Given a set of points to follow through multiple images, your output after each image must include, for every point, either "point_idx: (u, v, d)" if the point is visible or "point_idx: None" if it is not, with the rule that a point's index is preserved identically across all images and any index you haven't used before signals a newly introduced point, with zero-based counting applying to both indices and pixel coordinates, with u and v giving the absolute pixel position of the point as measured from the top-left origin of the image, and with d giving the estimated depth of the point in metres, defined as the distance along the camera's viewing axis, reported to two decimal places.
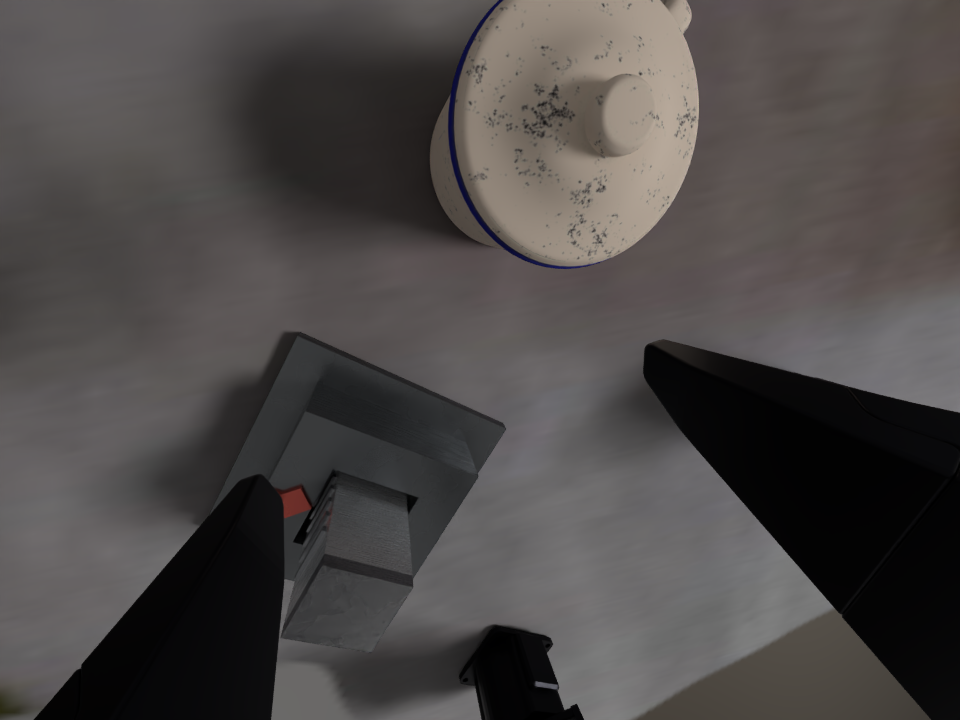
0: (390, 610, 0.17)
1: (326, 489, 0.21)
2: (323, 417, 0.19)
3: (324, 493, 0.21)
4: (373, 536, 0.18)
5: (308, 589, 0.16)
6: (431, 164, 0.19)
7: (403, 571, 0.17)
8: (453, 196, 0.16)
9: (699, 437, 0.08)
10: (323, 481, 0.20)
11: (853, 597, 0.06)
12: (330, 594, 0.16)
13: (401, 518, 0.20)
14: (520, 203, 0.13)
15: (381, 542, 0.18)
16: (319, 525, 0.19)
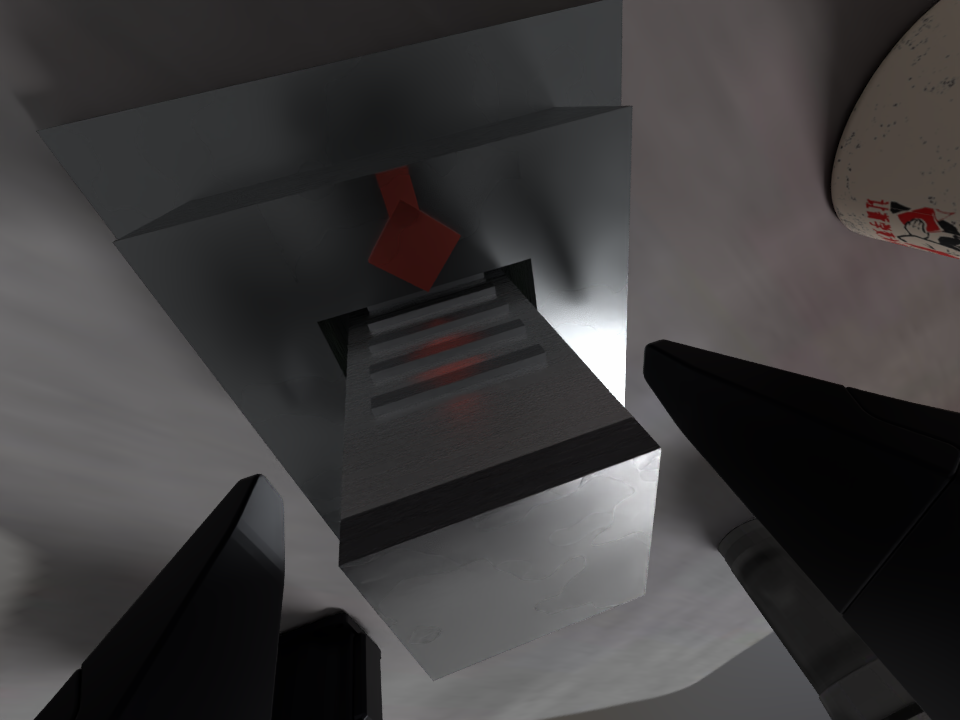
0: (568, 618, 0.07)
1: (448, 283, 0.10)
2: (629, 154, 0.08)
3: (438, 286, 0.10)
4: None
5: (556, 482, 0.05)
6: (958, 6, 0.12)
7: None
8: None
9: (699, 437, 0.08)
10: (494, 263, 0.09)
11: (853, 598, 0.06)
12: (567, 526, 0.05)
13: None
14: None
15: None
16: (489, 336, 0.07)
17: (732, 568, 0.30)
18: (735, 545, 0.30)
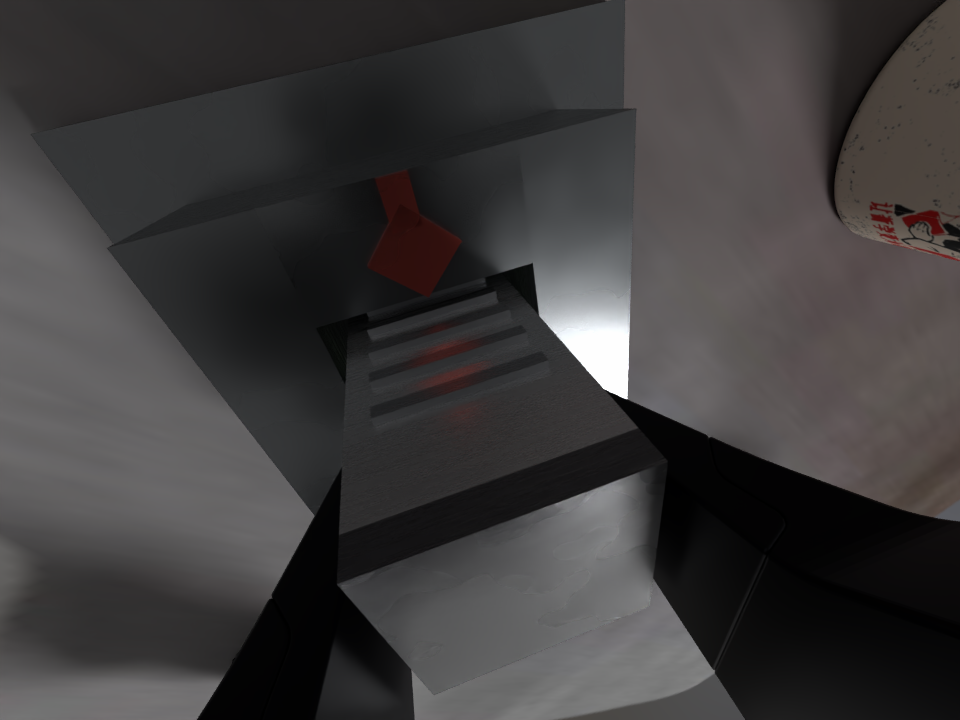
0: (571, 631, 0.07)
1: None
2: (632, 158, 0.08)
3: (439, 291, 0.10)
4: None
5: (560, 496, 0.05)
6: None
7: None
8: None
9: None
10: (496, 268, 0.09)
11: (719, 656, 0.06)
12: (570, 540, 0.05)
13: None
14: None
15: None
16: (491, 343, 0.07)
17: None
18: None
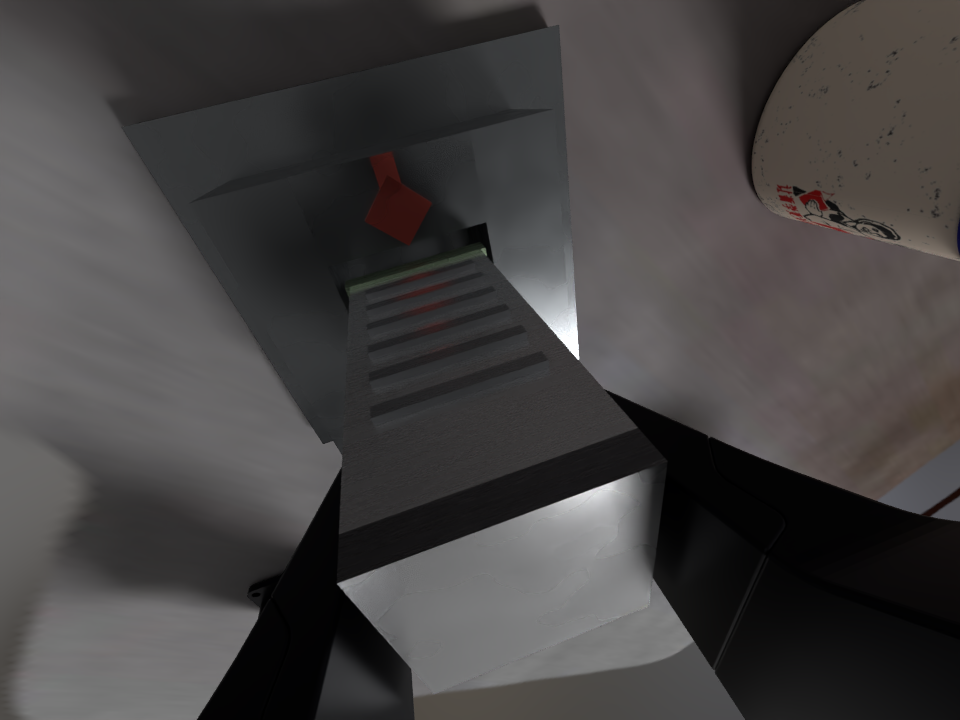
0: (571, 630, 0.07)
1: (449, 287, 0.10)
2: (555, 144, 0.11)
3: (439, 291, 0.10)
4: None
5: (560, 496, 0.05)
6: (834, 29, 0.15)
7: None
8: (918, 65, 0.12)
9: None
10: (458, 225, 0.12)
11: (719, 656, 0.06)
12: (570, 540, 0.05)
13: None
14: None
15: None
16: (491, 343, 0.07)
17: None
18: None
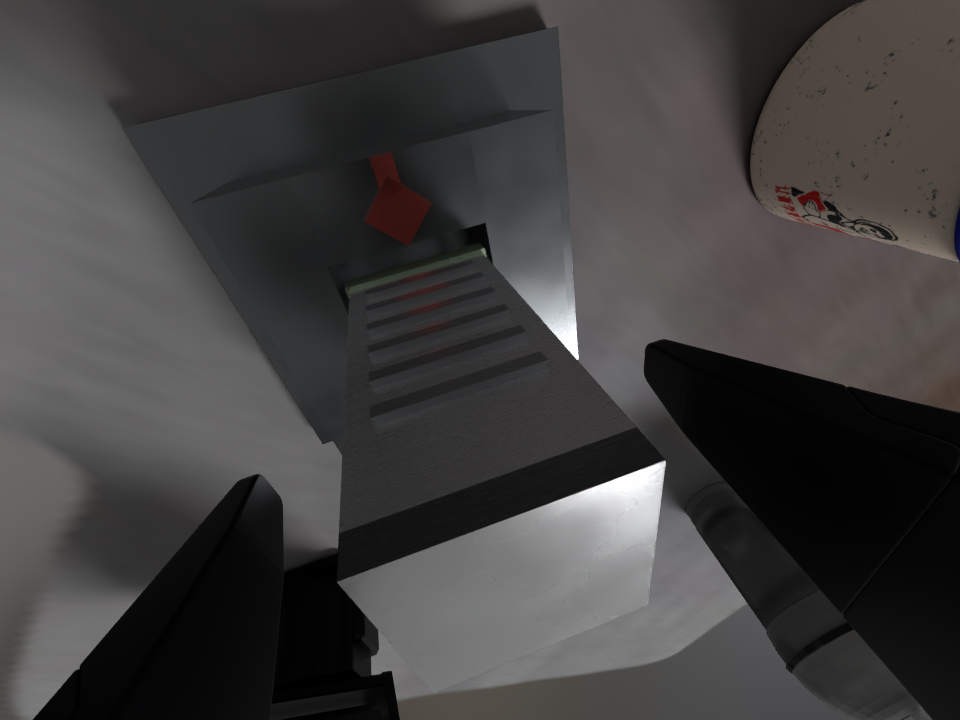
0: (570, 629, 0.07)
1: (448, 288, 0.10)
2: (555, 145, 0.11)
3: (438, 291, 0.10)
4: None
5: (559, 495, 0.05)
6: (832, 30, 0.15)
7: None
8: (915, 66, 0.12)
9: (700, 437, 0.08)
10: (458, 226, 0.12)
11: (855, 597, 0.06)
12: (569, 539, 0.05)
13: None
14: None
15: None
16: (490, 343, 0.07)
17: (696, 527, 0.33)
18: (699, 505, 0.33)
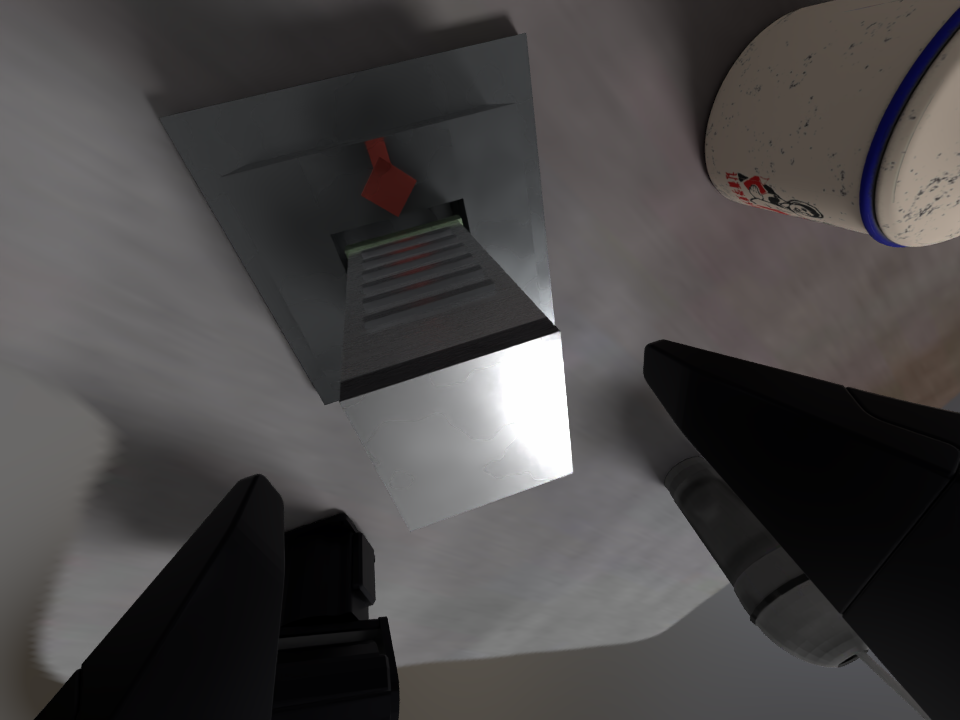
0: (512, 486, 0.09)
1: (428, 245, 0.12)
2: (520, 132, 0.14)
3: (420, 248, 0.12)
4: None
5: (487, 353, 0.07)
6: (768, 36, 0.17)
7: None
8: (826, 67, 0.15)
9: (699, 437, 0.08)
10: (440, 201, 0.14)
11: (853, 598, 0.06)
12: (499, 392, 0.07)
13: None
14: None
15: None
16: (455, 277, 0.09)
17: (674, 498, 0.36)
18: (676, 478, 0.35)
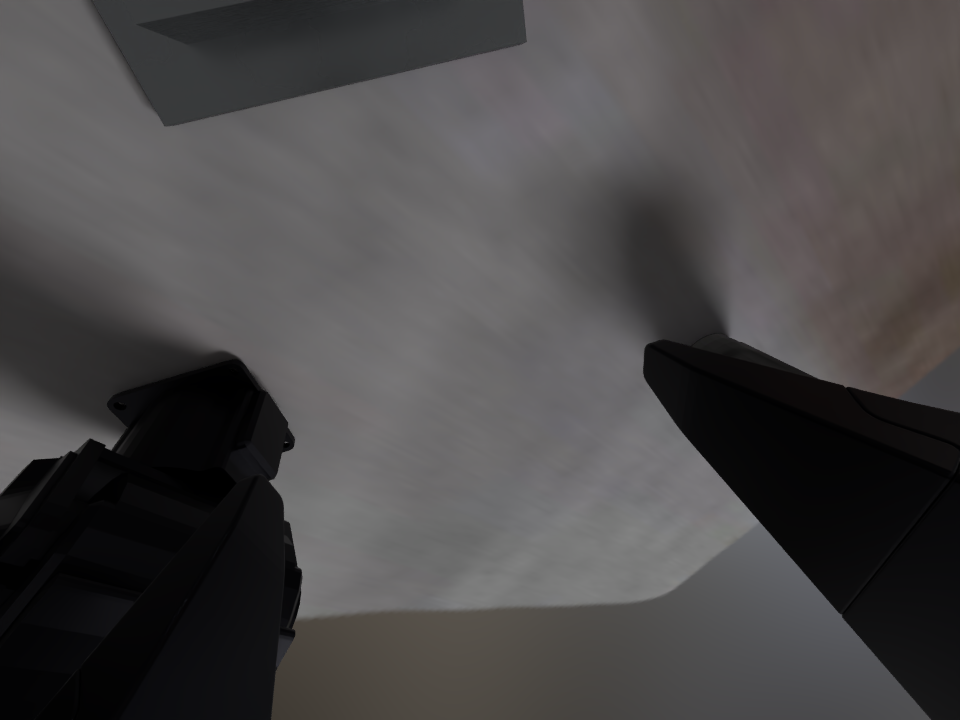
0: None
1: None
2: None
3: None
4: None
5: None
6: None
7: None
8: None
9: (699, 437, 0.08)
10: None
11: (853, 597, 0.06)
12: None
13: None
14: None
15: None
16: None
17: None
18: None
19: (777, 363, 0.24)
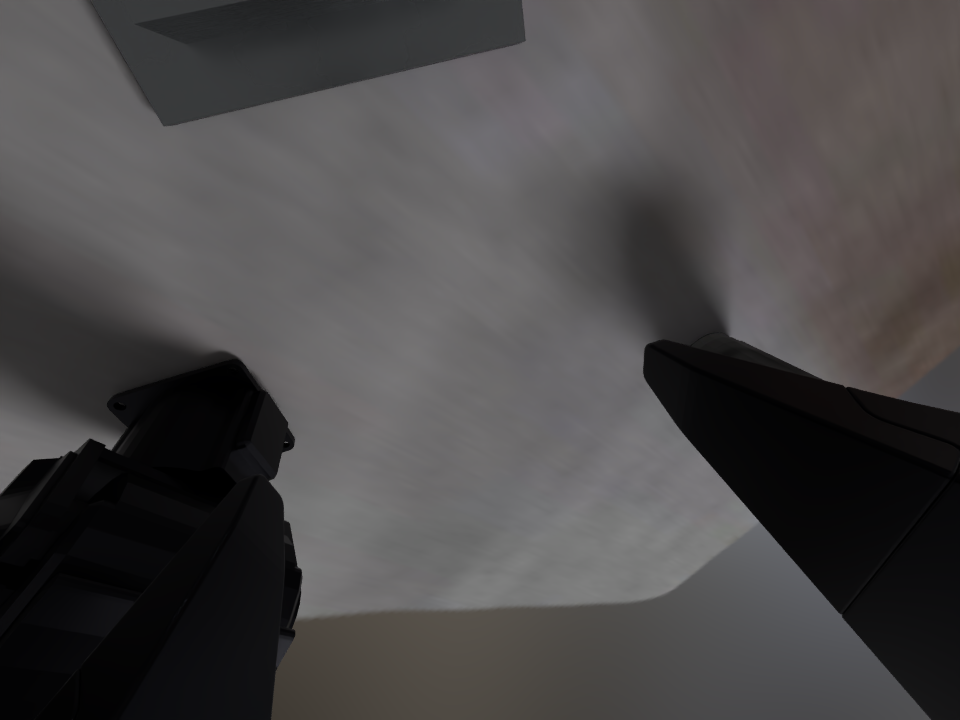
0: None
1: None
2: None
3: None
4: None
5: None
6: None
7: None
8: None
9: (699, 437, 0.08)
10: None
11: (853, 597, 0.06)
12: None
13: None
14: None
15: None
16: None
17: None
18: None
19: (777, 362, 0.24)
